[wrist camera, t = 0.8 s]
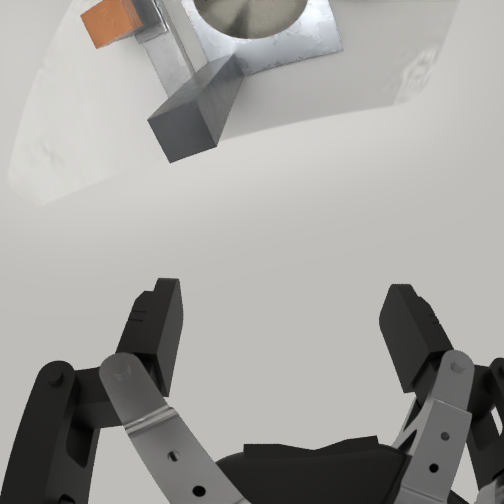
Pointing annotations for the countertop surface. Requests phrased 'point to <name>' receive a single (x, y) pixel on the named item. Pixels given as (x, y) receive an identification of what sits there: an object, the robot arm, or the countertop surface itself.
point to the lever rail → (168, 55)
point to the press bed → (237, 62)
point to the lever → (123, 21)
